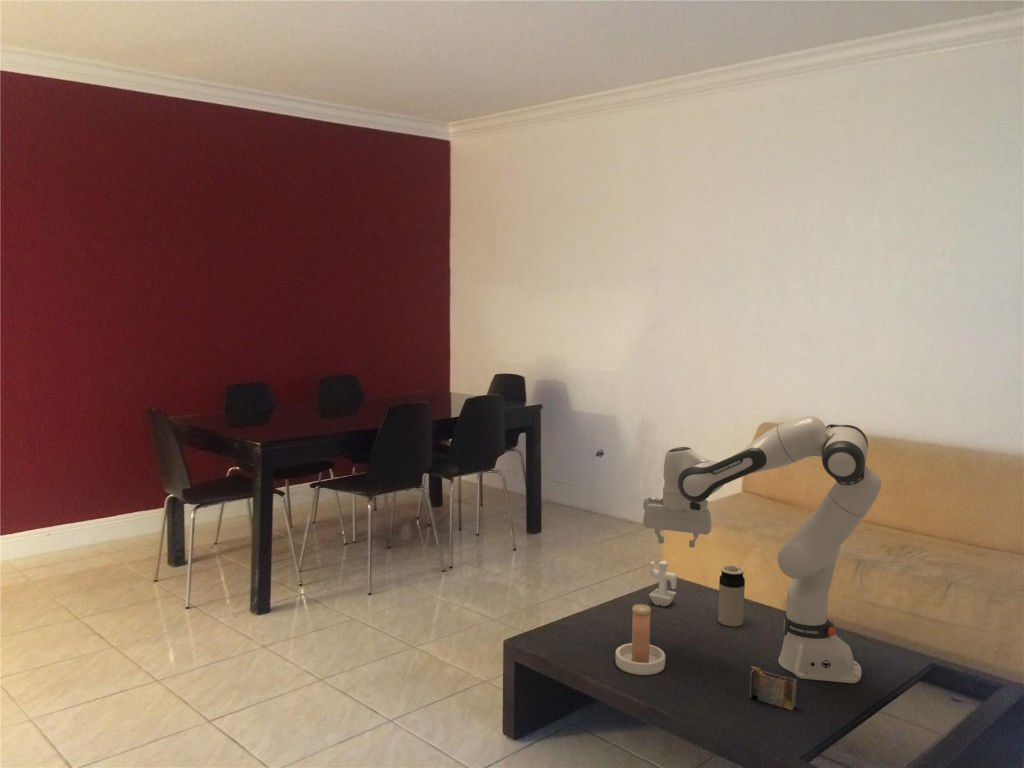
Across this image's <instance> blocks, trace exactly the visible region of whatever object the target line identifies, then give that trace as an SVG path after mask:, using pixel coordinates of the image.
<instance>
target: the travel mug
mask: <svg viewBox="0 0 1024 768" xmlns="http://www.w3.org/2000/svg"><path fill="white" fill-rule="evenodd" d="M720 571H721V575H720V576H719V583H718V584H719V585H718V608H717V609H718V610H717V613H718V615H717V621H718V623H720V624H721V625H723V626H727V627H733V628H736V627H739V626H742V625H743V624H744V615H745V614H744V613H745V612H744V610H745V609H744V608H745V590H746V589H745V587H746V580H745V577H744V573H745V569H744V568H743V567H741V566H736V565H728V564H727V565H723V566H721V567H720Z"/></svg>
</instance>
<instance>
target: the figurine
mask: <svg viewBox="0 0 1024 768" xmlns="http://www.w3.org/2000/svg"><path fill="white" fill-rule="evenodd" d="M658 567H659V569H656V562H655V561H654V560H653V561H650V563H649V575H650V577H652V578H654V579H655V578H656V579H658V580H659V581H658V588H655V589H654V590H653V591H652V592H650V593H649V598H650V599H651V601H652V603H653V605H654V604H655V605H654V606H659V605H661V606H660V607H663V606H667V605H668V606H669V605H670V604H671V603H672V601H673V599H674V597H675V595H676V594H677V591H671V590H667V588H668V585H667V584H668V581H669V582H670V583H671V584H670V585H671V586H670V588H671V589H672V590H675V589H677V583H678V582H677V577H678V576H677V574H676V572H675V573H674V572H672V571H671V572H669V571H668V569H669V567H668V561H667V560H661V561H659V563H658ZM668 606H667V607H668Z"/></svg>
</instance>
